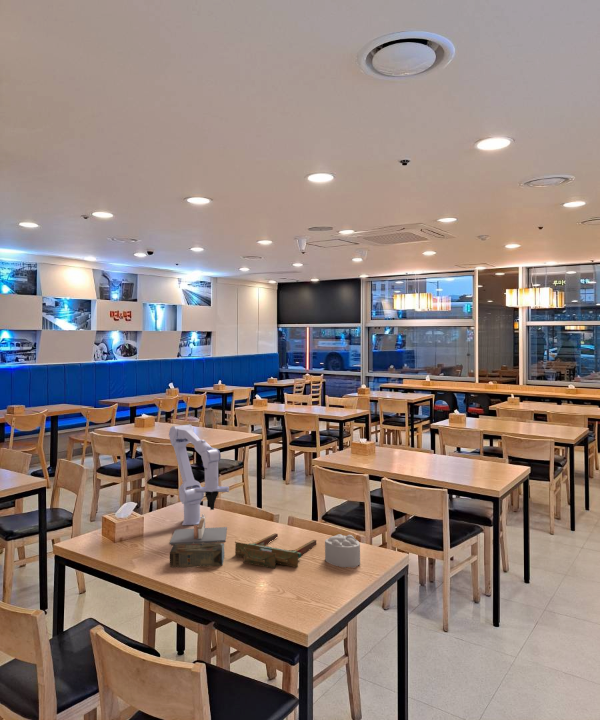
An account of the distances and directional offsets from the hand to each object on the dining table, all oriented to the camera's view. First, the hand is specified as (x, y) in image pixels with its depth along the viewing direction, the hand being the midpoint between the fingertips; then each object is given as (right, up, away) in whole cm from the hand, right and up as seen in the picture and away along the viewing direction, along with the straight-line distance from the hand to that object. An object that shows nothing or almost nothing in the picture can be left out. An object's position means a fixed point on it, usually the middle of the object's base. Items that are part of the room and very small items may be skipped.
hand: (212, 509), depth 232 cm
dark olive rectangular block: (0, -11, -34) cm, 36 cm away
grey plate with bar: (-4, -10, -6) cm, 12 cm away
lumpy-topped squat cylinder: (+53, -10, -35) cm, 65 cm away
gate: (-3, -9, -6) cm, 11 cm away
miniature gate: (+29, -10, -27) cm, 40 cm away
